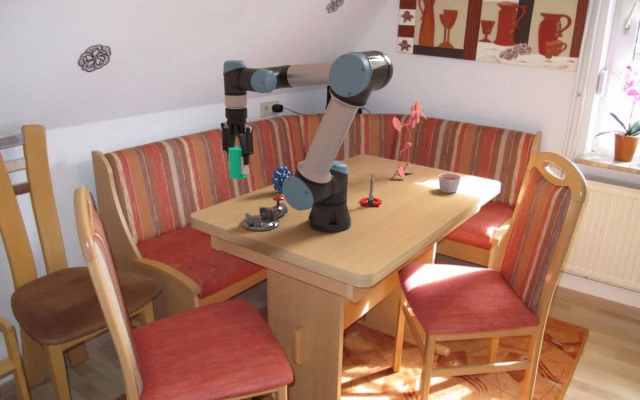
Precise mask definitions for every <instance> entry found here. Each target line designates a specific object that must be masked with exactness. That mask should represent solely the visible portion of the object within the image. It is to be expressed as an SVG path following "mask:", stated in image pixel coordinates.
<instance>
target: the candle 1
mask: <svg viewBox="0 0 640 400" xmlns="http://www.w3.org/2000/svg"><path fill="white" fill-rule="evenodd" d="M241 155H242V150H241V146H239V145H238V146H234V147H233V148H229V161H228V171H229V170H230V171H229V178H230V179H232V180H242V179H245V178H247V174H248V173H246V174H241Z"/></svg>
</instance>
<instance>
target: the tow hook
mask: <svg viewBox="0 0 640 400" xmlns="http://www.w3.org/2000/svg"><path fill="white" fill-rule="evenodd" d="M374 181H375V180H374V173H371V176H370V183H369V193H368V197H362V198H361V199H360V203H361V206H365V207H375V208H377V207H378V208H379V207H380V205H381V204H383V200H382V199H380V198H378V197H377V198H376V197H374V193H373V192H374Z"/></svg>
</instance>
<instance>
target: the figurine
mask: <svg viewBox="0 0 640 400" xmlns="http://www.w3.org/2000/svg"><path fill="white" fill-rule="evenodd" d="M422 108H423V105H420V99H418V100H417V101H416V102H415V104H411V106H410V111H411V113H410V115H409V117H408V119H407V120H406V121H405V122H404V124H403V125H402V123H401V121H400V120H399V118H397V117H396V116H393V118H392V126H393V127H394V129H395V130H396V131H397V132H398V133H401V130H402V128H404V127H405V128H406V129H407V131H408V133H409V137H408V141H407V142H406V143H405V147H404V148H403V149H402V150H401V151H399V157H401V155H402V154H401V153H402V152H404V151H405V150H407V151H408V152H407V153H408V154H407V156H408V157H407V158H408V159H407V161H406V165H405V166H404V168H403V167H402V166H401V164H398V165H397V167H396V169H397V170H396V171H395V173H394V174H393V176H392V178H395V176H396V174H397V173H398V175H399V177H400V178H401V179H402V181H404V179H405V172H404V171H405V170H406V168H408V167H407V166H409V169H410V170H411V172H412V173H413V174H414V171H413V168H412V167H411V164H410V149H411V147H412V146H413V145H412V143H411V136H412V135H411V134H412V133H411V130H410V129H409V127H408V126H410V125H411V127H410V128H411V129H412V130H413V129H414V128H416V125H417V124H419V123H420V122H421V120H420V116H421V115H422V117H423V118H424V119H425V120H428V118H427V116H426V115H425V114H424V113H423V111H422ZM425 175H426V176H427V177H429V176H428V174H427V173H425ZM386 180H388V181H389V179H387V178H386ZM422 182H424V180H422V181H420V183H422Z"/></svg>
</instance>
